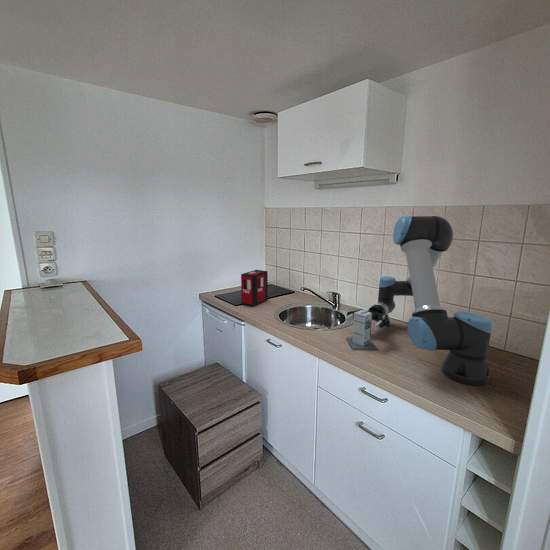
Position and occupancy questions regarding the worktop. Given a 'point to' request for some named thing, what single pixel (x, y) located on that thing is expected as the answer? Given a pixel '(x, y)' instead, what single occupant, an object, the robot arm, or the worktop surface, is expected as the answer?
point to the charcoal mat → (358, 347)
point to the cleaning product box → (254, 287)
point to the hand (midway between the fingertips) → (360, 324)
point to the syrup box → (362, 327)
